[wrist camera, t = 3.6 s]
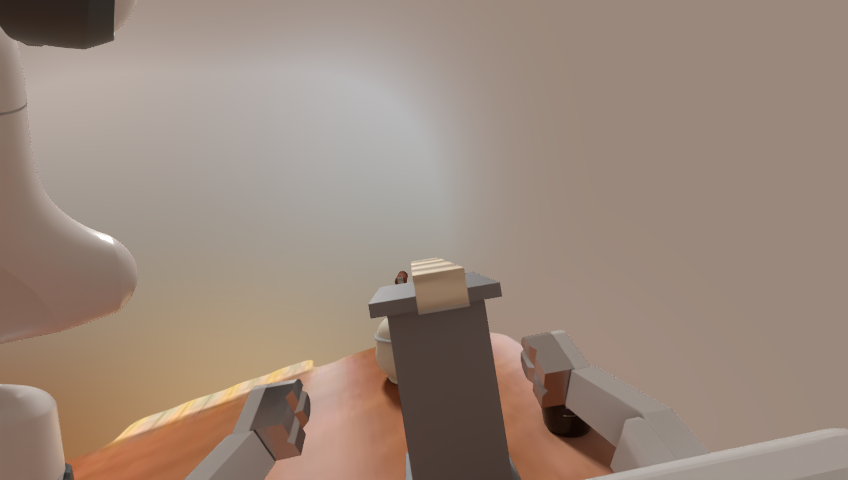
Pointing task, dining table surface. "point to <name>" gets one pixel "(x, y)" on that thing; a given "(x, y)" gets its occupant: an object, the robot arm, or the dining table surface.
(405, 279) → the kettle
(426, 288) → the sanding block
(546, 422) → the supplement bottle
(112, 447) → the dining table surface
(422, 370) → the tool stand
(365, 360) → the dining table surface
